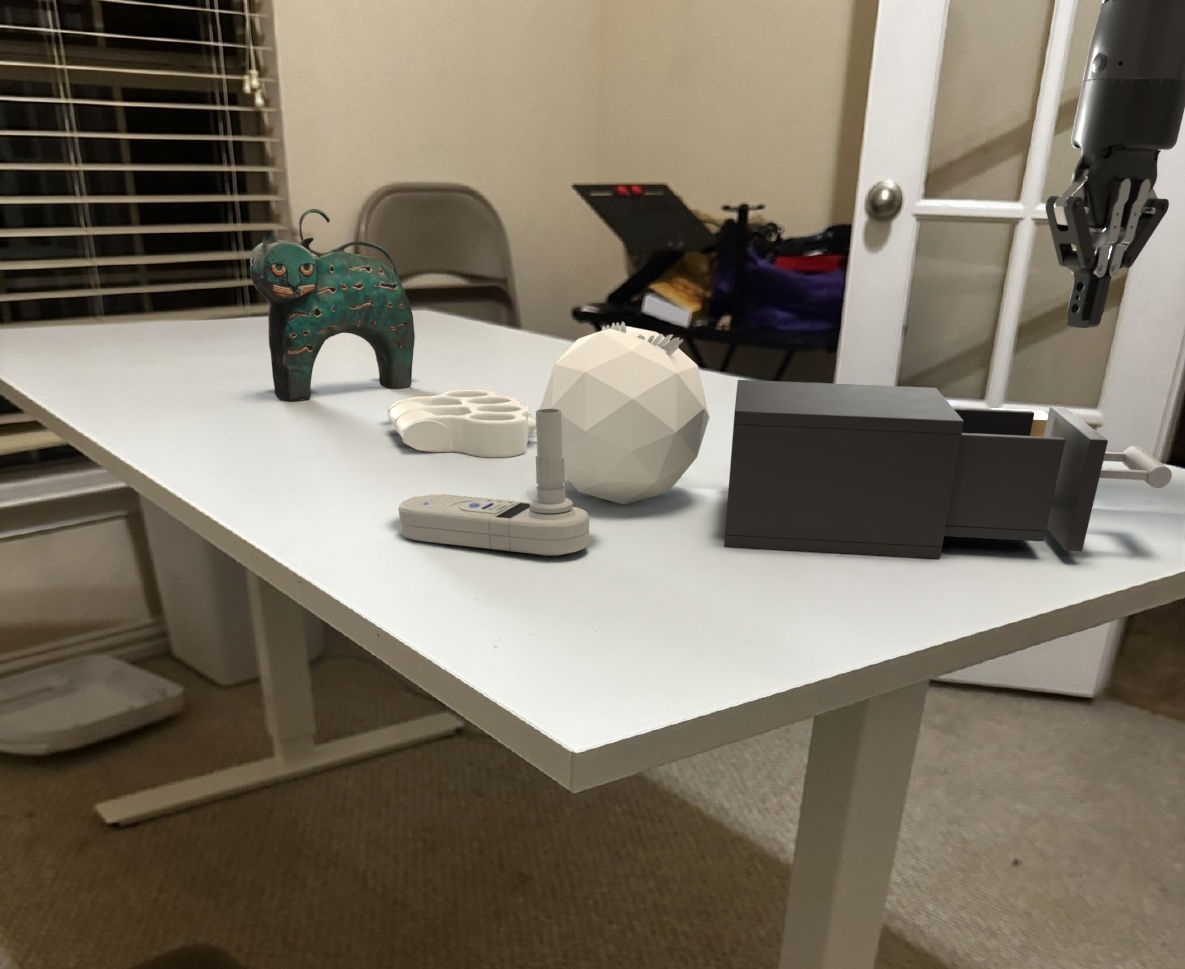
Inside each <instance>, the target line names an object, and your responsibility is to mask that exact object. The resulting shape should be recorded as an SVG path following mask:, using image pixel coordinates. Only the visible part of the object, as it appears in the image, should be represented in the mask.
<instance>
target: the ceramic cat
mask: <svg viewBox="0 0 1185 969" xmlns="http://www.w3.org/2000/svg"><path fill="white" fill-rule="evenodd" d="M313 213H314V214H318V215H320V216H321V217H322V218H324V220H325V221H326V223H327V224H329V223H330V222H331V221H330V218H329V215H327V213H326V212H325V211H323V210H321V209H318V208H311V209H308V210H306V211H304V212H303V213H302V214H301V215H300V218H299V220H298V232H299V238H300V240H299V241H296V242H290V241H287V240H282V239H278V238H277V237H276V236H275V235H274V233H273V231H271V229H268V230H267V231H266V232H265V233H264V235H263V236H264V237H263V239H262V242H261V243H259V244H257V246H255V247H254V248H253V249H252V251H251V254H250V258H249V260H250V262H249V263H250V265H249V271H250V272H249V273H250V278H251V281H252V284H253V286H254V287H255V289H256V290H257V291H258V293H259V294H260V295H261V296H262V297H264V298H265V299H266V301H267V303H268V314H267V315H268V321H267V322H268V332H267V333H268V334H267V336H268V347H269V353H270V362H271V369H272V370H271V372H272V380H273V388H274V394H275V397H276V398H278V399H280V400H282V401H287V402H290V403H291V402H299V401H306V400H310V398H311V391H312V390H311V389H312V388H311V385H312V378H313V370H314V365H315V363H316V359H317V357H318V355H319V353H320V351H321V349H322V347H323V345H324V344H325V342H326V341H327V340H328V339H330V338H332V337H334V336H336V335H340V334H352V335H355V336H358V337H359V338H362V339H363V340H364V341H365V342H367V343H368V344H369V346H371V348H372V349H373V351H374V355H375V360H376V363H377V369H378V381H379V385H380V386H381V387H385V388H387V389H396V390H397V389H405V388H410V387H411V386H412V378H413V376H412V375H413V361H414V360H413V359H414V348H415V341H416V340H415V338H416V336H415V335H416V334H415V333H416V332H415V323H414V315H413V310H412V307H411V303H410V300H409V298H408V297H407V294H406V291H405V289H404V286H403V284H402V282H401V280H400V278H399V275H398V271H397V267H396V265H395V262H394V259H393V258H392V256H391V255H390V253H389V252H388V251H387V250H386V248H384V247H382V246H379V245H378V244H375V243H372V242H367V241H359V240H355V241H350V242H347V243H344V244H342V245H340V246H338V247H335V248H333V249H331V250H329V251H326V252H319V251H317V250H314V249H312V248H311V247H310V245H311V244H312V242H313V241H314V237H306V238H304V236H303V231H302V230H303V229H302V225H303V221H304V219H305V218H306V216H307V215H309V214H313ZM352 246H364V247H368V248H372V249H374V250H377V251H379V252H380V253H382V254H383V256H385V258H386V259H387V260H388V261H389V263H390V265H391V268H392V269H391V268H390V267H388V266H387V265H386V264H384V263H383V262H382V261H380V260H379V259H377V258H375V257H371V256H369V255H368V256H367V255H364V254H359V253H352V252H347V251H345V250H346V249H347V248H349V247H352Z"/></svg>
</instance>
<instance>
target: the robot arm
mask: <svg viewBox="0 0 1185 969" xmlns="http://www.w3.org/2000/svg"><path fill="white" fill-rule="evenodd" d="M1101 1H1102V2H1101V3H1102V4H1100V9H1099V13H1098V16H1097V19H1096V23H1095V26H1094V28H1093V32H1092V35H1091V38H1090V42H1089V47H1088V52H1087V57H1086V61H1085V62H1086V63H1085V67H1084V71H1083V77H1082V82H1081V87H1080V91H1079V96H1078V101H1077V106H1076V112H1075V117H1074V121H1073V127H1072V132H1071V137H1070V145H1071V146H1072V147H1073V148H1074V149H1075V150H1080V155H1079V157H1078V158H1079V159H1078V161H1077V164H1076V166H1075V167H1074V168H1073V171H1072V175H1071V179H1070V180H1071V181H1070V182H1071V183H1070V184H1071V185H1069V187H1068V188H1067V189H1066V190H1065V191H1064V192H1063V194H1062V195H1050V196H1049V197H1048V198H1047V199H1046V202H1045V207H1044V208H1045V213H1046V218H1047V222H1048V225H1049V229H1050V233H1051V237H1052V241H1053V245H1054V246H1053V247H1054V249H1055V253H1056V259H1057V262H1058V266H1060V267H1062V268H1064V267H1065V268H1067V269H1068V270H1070V272H1071V275H1072V276H1073V280H1072V286H1071V292H1070V296H1069V301H1068V305H1067V310H1066V320H1065V321H1066V325H1067V326H1068V327H1071V328H1078V329H1079V328H1080V329H1091V328H1098V327H1099V325H1100V324H1101V322H1102V317H1103V314H1104V312H1105V308H1106V303H1107V298H1108V293H1109V289H1110V286H1111V280H1112V278H1115V277H1116V276H1117V275H1118V274H1119V271H1120V270H1121V269H1123V268H1124V269H1125V268H1126V269H1129V268H1131V267H1132V266H1133V265H1134V264H1135V262H1136V260H1137V259H1138V257H1139V256H1140V254H1141V252H1142V251H1143V249H1144V248H1145V246H1146V245H1147V243H1148V241H1150V238H1151V237H1152V235H1153V234H1154V232H1155V231H1156V229H1157V228H1158V226H1159V225H1160V223H1161V222H1162V220H1163V219H1164V217H1165V216H1166V214H1167V212H1168V210H1169V207H1170V201H1169V199H1168V198H1159V197H1158V196H1157V193H1156V191H1155V188H1154V187H1155V185H1156V183H1157V180H1158V160H1159V155H1160V153H1161V152H1165V151H1169V150H1172V149H1173V148H1175V146H1176V145H1177V142H1178V138H1179V134H1180V130H1181V126H1182V121H1183V118H1184V114H1185V0H1101ZM1072 245H1073V246H1074V247H1073V246H1072Z"/></svg>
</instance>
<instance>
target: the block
mask: <svg viewBox="0 0 1185 969" xmlns="http://www.w3.org/2000/svg"><path fill="white" fill-rule="evenodd" d="M989 409H995V408H989ZM998 409H999V410H1018V409H1013V408H998ZM1021 410H1022V411H1033V412H1034V413H1035V414H1034V419H1033V424H1032V429H1031V434H1030V436H1040V437H1044V432H1045V428H1046V423H1047V418H1048V413H1046V412H1045V411H1044V410H1041V409H1040V410H1039V409H1021Z"/></svg>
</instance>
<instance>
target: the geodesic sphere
mask: <svg viewBox="0 0 1185 969" xmlns="http://www.w3.org/2000/svg"><path fill="white" fill-rule="evenodd" d="M673 336H674V334H671V333H670V334H668V335H666V336H664V334H663V333H659V332H657V331H653V330H648V329H644V328H638V327H633V326H627V325H626V323H625V322H624V321H621V322H620V323H619V322H616V323H615V322H612V323H611V326H610V325H609V324H607V325H606V327H605V326H604V325H603V326H602V327H601V330H600V331H597V332H594V333H591V334H588V335H585V336H582V337H579V338H577V339H576V340H575V342H573V343H572V344H571V346H570V347H569V348H568V349H567V350H566V351H565V352H563V354H562V356H561V357H559V358H558V360H557V361H555V363H554V364H553V368H552V371H551V374H550V376H549V379H548V383H547V385H546V389H545V392H544V394H543V397H542V400H541V404H540V406H539V409H559V410H561V424H562V455H563V456H564V472H565V479H566V480H567V481H569V483H570V484H571V485H572V486H573V487H574V488H575V489H576V490H577V491H578V492H579V493H582V494H583V493H584V494H585V495H589V496H592V497H596V498H599V499H603V500H606V501H610V502H613V503H617V504H620V505H624V506H625V505H628V504H631V503H635V502H638V501H642V500H645V499H646V500H647V499H649V498H652V497H656V496H659V495H663V494H667V493H669V492H670V491H671V490H672V489H673V487H674V486H675V485H676V484H677V483H678V481H679V480H680V479H681V478H682V476H684V474H685V473H686V471H687V470H688V469H689V468H690V466H691V465H692V464H693V463H694V462H695V460H696V459H697V458H698V455H699V452H700V449H701V447H702V442H703V440H704V436H705V433H706V430H707V426H708V423H709V421H710V413H709V408H708V404H707V400H706V396H705V390H704V386H703V381H702V378H701V377H702V376H701V374H700V368H699V365H698V364H697V363H696V362H695V361H694V360H692V359H691V358H690V357H689V356H688V355H687V354H686V353H685V352H683V351H682V350H681V349H680V348H679V347H680V345H681V344H682V343H683V342H684V339H683V338H681V339H680V337H674V338H673Z"/></svg>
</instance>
